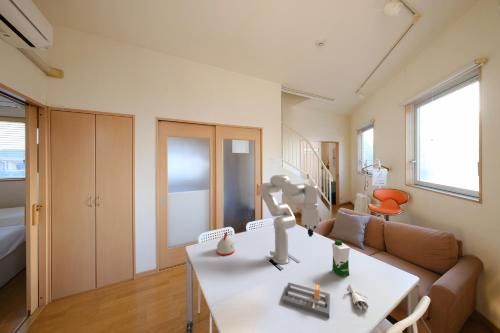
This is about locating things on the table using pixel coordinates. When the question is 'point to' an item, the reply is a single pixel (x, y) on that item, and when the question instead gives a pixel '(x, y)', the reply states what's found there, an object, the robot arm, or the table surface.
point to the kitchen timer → (225, 246)
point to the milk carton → (340, 258)
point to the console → (306, 299)
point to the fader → (317, 292)
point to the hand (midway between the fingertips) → (310, 235)
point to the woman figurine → (357, 298)
